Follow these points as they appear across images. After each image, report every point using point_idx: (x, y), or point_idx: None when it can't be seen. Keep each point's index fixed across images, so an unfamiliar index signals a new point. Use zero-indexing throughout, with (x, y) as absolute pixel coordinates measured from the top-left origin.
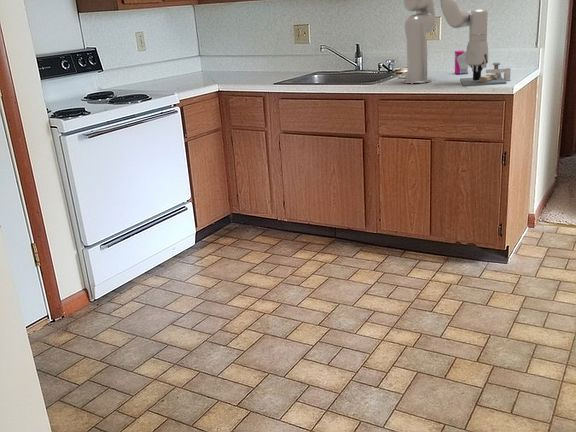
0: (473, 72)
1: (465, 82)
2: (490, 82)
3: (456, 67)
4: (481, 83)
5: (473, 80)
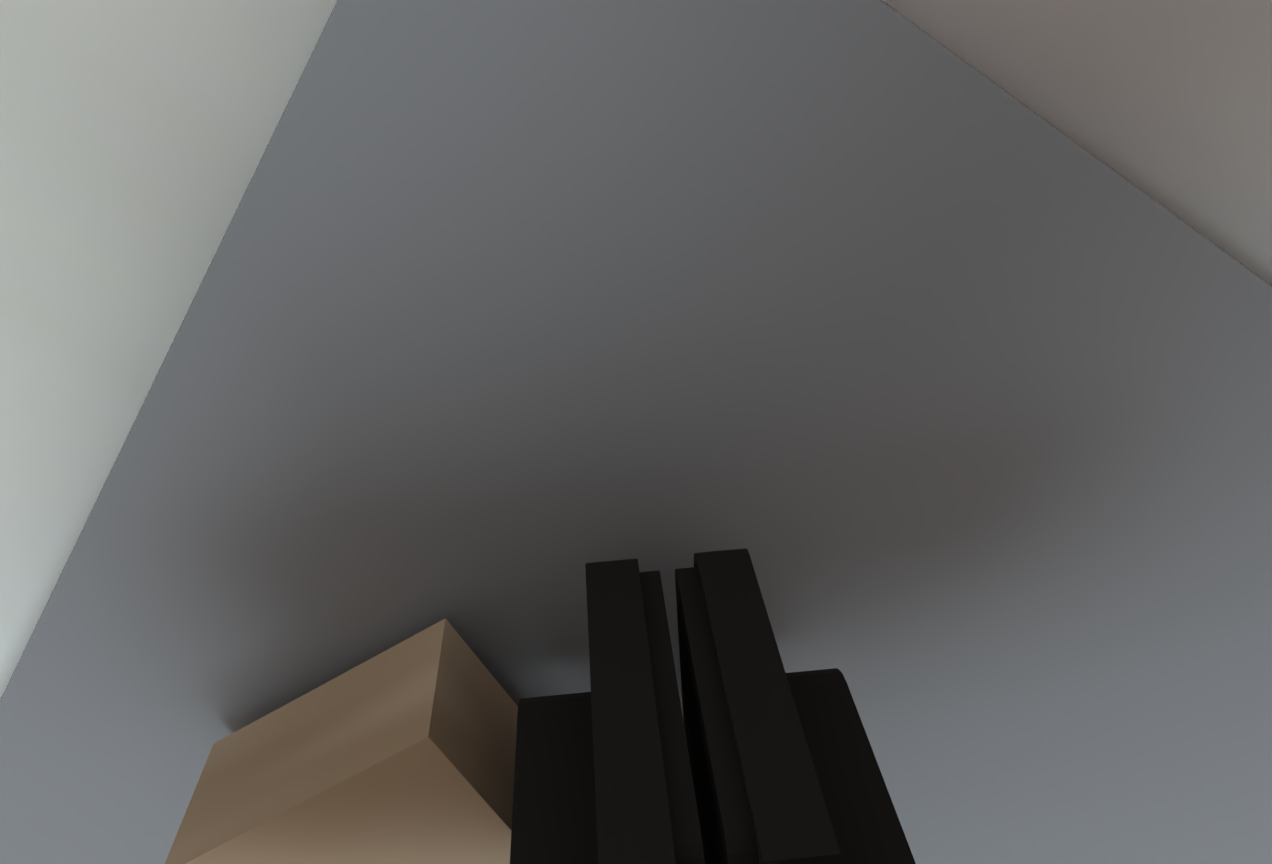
0: (786, 813)
1: (927, 238)
2: (66, 813)
3: None
4: (97, 504)
5: (1038, 723)
